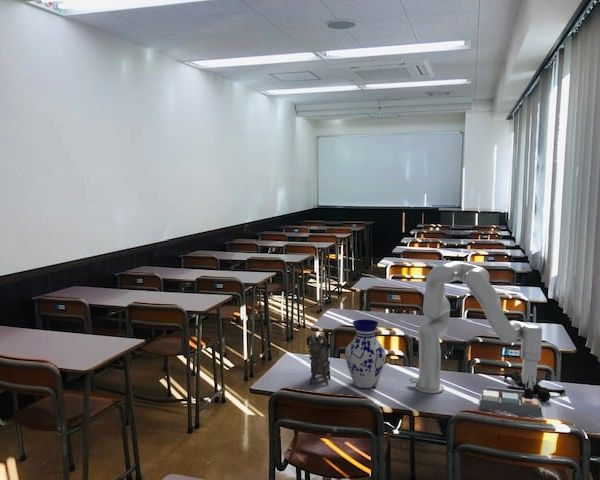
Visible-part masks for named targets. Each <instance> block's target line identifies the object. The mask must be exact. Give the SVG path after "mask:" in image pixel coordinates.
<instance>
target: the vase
mask: <svg viewBox="0 0 600 480" xmlns="http://www.w3.org/2000/svg"><path fill="white" fill-rule="evenodd" d="M352 324H353V327H354V329H355V337H354V338H353V340H351V342H350V343H349V344H348V345H347V347H346V349H345V351H344V355H345V360H346V364H347V368H348V371H349V373H350V376H351V380H352V382H353V386H354V388H355V387H356V388H358V389H361V390H372V389H375V388H376V387H377V386H378V384H379V380H380V377H381V375H382V371H383V369H384V365H385V363H386V358H387V352H386V349H385V347H384V346H383V345H382V344H381V342H380V341H379V340H378V339H377V337H376V335H375V334H376V330H377V329H376V328H378V325H379V322H378V321H377V320H373V319H355V320H353V321H352Z"/></svg>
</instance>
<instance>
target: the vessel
mask: <svg viewBox="0 0 600 480" xmlns="http://www.w3.org/2000/svg"><path fill="white" fill-rule="evenodd" d="M305 340H306V346H307V348H308V349H309V350H308V353H310V355H308V358H309V360H310V361H311V362H310V374H311V376H310V379H309V382H308V385H311V384H312V383H313V382H314V380H315V378H316V377H319V376H320V375H322V376H321V377H322V380H323V381H324V383H325V385H327V386H328V385H329V381H328V380H329V379H331V378H332V377H331V371H330V370H331V366H330V365H331V363H330V360H329V348H331V346H332V344H331V343H328V339H327V337H326V336H324V335H321V334H319V333H318V336H316V334H315V333H314V334H313V335H309V336H307V338H305ZM328 378H329V379H328ZM329 386H330V385H329Z"/></svg>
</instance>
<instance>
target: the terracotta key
mask: <svg viewBox="0 0 600 480" xmlns="http://www.w3.org/2000/svg"><path fill="white" fill-rule="evenodd" d="M538 400H539V399H538V398H533V399H525V398H524V397H521V405H528V406H536V407H538Z"/></svg>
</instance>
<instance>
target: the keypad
mask: <svg viewBox="0 0 600 480" xmlns="http://www.w3.org/2000/svg"><path fill="white" fill-rule="evenodd" d="M486 389H487V390H488V391H497V392H499V402H495V401H487V400H483V393H480V395H479V402H478V403H479V404H478V408H479V409H480V410H481V409H482V410H490V409H491V411H496V410H500V411H499V412H504V411H506V412H505V413H512V412H515V413H514V414H519V413H520V415H529V416H536V417H537V416H538V417H544V416H543V410H542V404H541V402H540V399H537V400H538V407H536V406H528V405H521V397H524V391H523V390H513V389H507V388H504V387H496V386H495V387H494V386H493V387H492V386H486ZM502 392H505V393H514V394H518V404H511V403H503V402H502Z"/></svg>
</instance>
